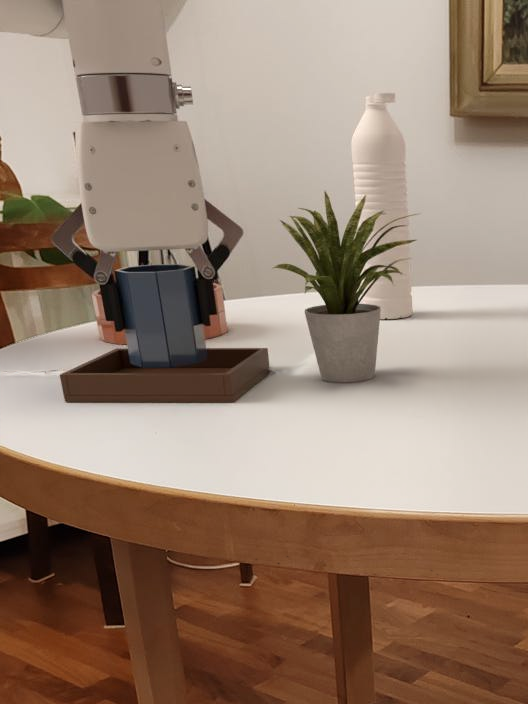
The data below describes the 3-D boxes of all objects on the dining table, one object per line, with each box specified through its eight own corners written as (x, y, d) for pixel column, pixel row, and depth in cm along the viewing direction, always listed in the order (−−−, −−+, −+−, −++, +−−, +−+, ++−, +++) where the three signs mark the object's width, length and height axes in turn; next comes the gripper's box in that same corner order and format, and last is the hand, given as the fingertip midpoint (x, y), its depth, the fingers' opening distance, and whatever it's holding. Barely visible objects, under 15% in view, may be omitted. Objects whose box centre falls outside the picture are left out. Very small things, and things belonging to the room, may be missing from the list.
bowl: (80, 350, 109) (70, 298, 106) (130, 328, 121) (122, 281, 119) (205, 350, 108) (198, 297, 105) (243, 328, 120) (237, 280, 118)
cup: (121, 367, 88) (104, 272, 84) (148, 354, 93) (133, 264, 90) (191, 367, 87) (177, 272, 84) (214, 353, 93) (202, 263, 89)
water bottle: (357, 314, 129) (342, 96, 117) (405, 310, 130) (395, 96, 119) (373, 324, 121) (358, 92, 110) (423, 320, 123) (414, 92, 112)
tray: (64, 402, 87) (59, 374, 85) (120, 373, 97) (116, 348, 96) (233, 402, 85) (229, 374, 84) (270, 372, 96) (267, 347, 95)
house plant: (394, 400, 85) (383, 193, 78) (248, 393, 88) (223, 194, 81) (439, 366, 97) (433, 185, 90) (310, 362, 101) (293, 187, 93)
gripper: (233, 103, 86) (258, 314, 94) (21, 106, 82) (66, 326, 90) (238, 99, 80) (264, 327, 88) (8, 102, 76) (58, 340, 84)
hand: (163, 325), depth 89 cm, fingers closed on cup, 6 cm apart
